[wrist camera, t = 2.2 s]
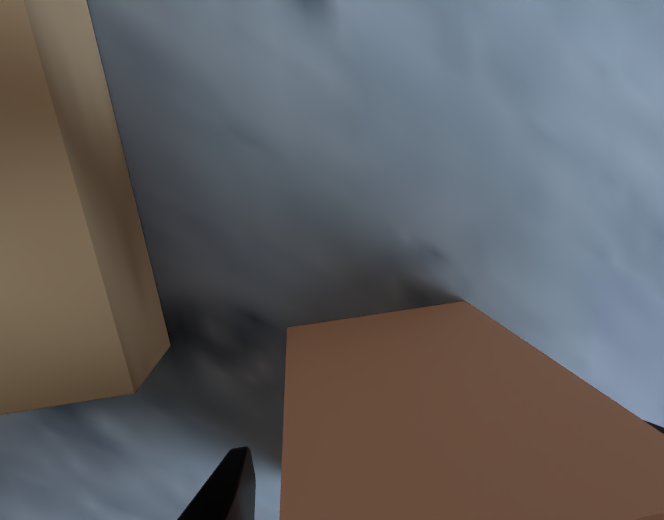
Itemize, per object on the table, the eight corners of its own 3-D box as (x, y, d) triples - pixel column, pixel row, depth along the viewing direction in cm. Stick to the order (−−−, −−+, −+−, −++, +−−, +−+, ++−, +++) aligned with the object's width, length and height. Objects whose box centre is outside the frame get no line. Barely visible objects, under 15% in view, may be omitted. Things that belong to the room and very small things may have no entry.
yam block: (466, 448, 10) (684, 777, 5) (310, 477, 10) (334, 884, 4) (464, 300, 9) (750, 493, 3) (286, 326, 9) (276, 596, 3)
